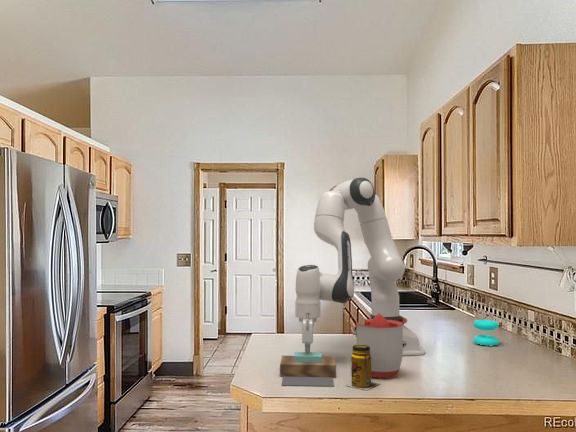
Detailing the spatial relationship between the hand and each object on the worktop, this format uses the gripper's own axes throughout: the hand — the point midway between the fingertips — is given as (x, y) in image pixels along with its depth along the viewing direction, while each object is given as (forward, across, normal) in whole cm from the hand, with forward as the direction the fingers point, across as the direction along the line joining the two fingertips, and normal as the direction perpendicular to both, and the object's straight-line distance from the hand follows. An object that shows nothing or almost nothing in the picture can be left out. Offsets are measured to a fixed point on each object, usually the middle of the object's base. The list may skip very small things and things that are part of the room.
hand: (307, 351), depth 172 cm
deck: (+5, -8, 0) cm, 9 cm away
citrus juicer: (+5, -8, -23) cm, 25 cm away
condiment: (+6, -20, -17) cm, 27 cm away
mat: (+5, -19, 0) cm, 19 cm away
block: (+1, -8, 0) cm, 8 cm away
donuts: (+5, +42, -76) cm, 87 cm away
